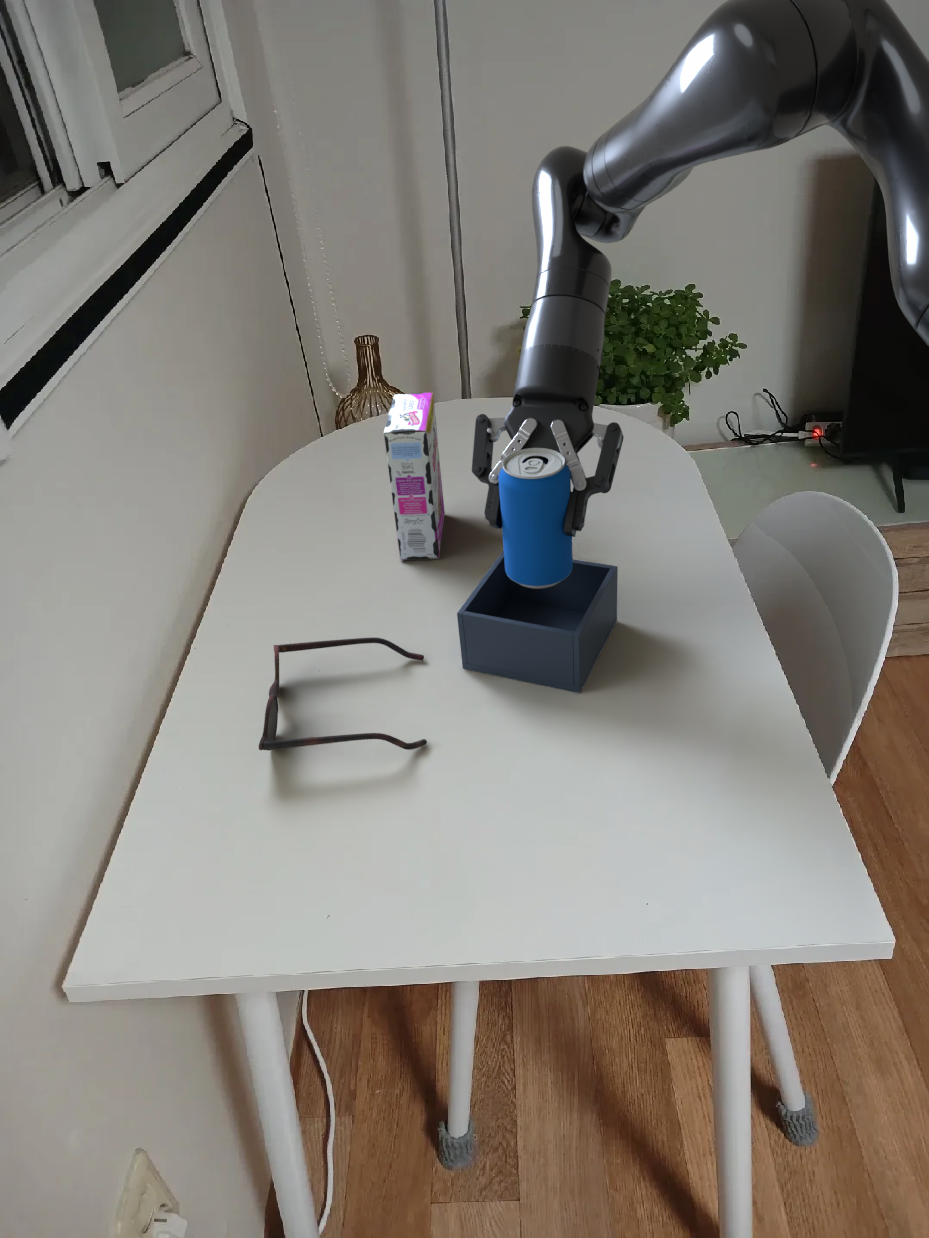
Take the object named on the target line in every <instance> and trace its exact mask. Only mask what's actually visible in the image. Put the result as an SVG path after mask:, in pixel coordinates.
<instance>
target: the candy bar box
mask: <svg viewBox="0 0 929 1238" xmlns="http://www.w3.org/2000/svg"><path fill="white" fill-rule="evenodd" d="M434 395H435V394H434V392H414V393H413V392H411V393H399V394H398V393H397V394H394V395H393V397H392V401H391V405H390V408H389V411H388V412H389V413H388V416H387V418H386V422H385V425H384V430H383V437H384V445H385V453H386V461H387V468H388V475H389V476H388V477H389V483H390V492H391V497H392V498H391V500H392V506H393V507H392V508H393V514H394V515H393V516H394V521H395V531H396V537H397V545H398V553H399V560H400V561H423V560H428V561H429V560H438V559H439V558H440V554H441V544H442V536H443V529H444V522H445V521H444V519H445V513H446V512H445V502H444V493H443V483H442V473H441V462H440V461H441V460H440V452H439V442H438V441H439V440H438V427H437V417H436V409H435V407H436V406H435V397H434Z"/></svg>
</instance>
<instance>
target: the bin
mask: <svg viewBox="0 0 929 1238" xmlns="http://www.w3.org/2000/svg"><path fill="white" fill-rule="evenodd" d="M572 562H573V568H572V571H571V573H570V574H569V576H568V577H566V578H565V579H564V580H562V581H560V582H559V583H558V584H556V585H554V586H551V587H547V588H539V589H536V588H528V587H524V586H522V585H520V584H519V583H516V582H514V581H513V580H511V579H510V578H509V577H508V576H507V574H506V572H505V561H504V549H503V550H502V551H501V553H500V554H499V555H498V557H497V558H496V559H495V561H494V562H493V563H492V565H491V566H490V567H489V568H488V570H487V572H486V573H485V574H484V576H483V577H482V578H481V580H480V581H479V582H478V584H477V585H476V587H474V590H473V591H472V592H471V593H470V595H469V596H468V597H467V598H466V600H465V601H464V603H463V604H462V606H461V607H460V608H459V610H458V611H456V618H457V628H458V637H459V646H460V654H461V655H460V656H461V665H462V669H463V670H466V671H467V670H468V671H473V672H477V673H480V674H486V675H491V676H494V677H495V676H496V677H500V678H505V679H509V680H515V681H519V682H523V683H529V684H533V685H538V686H542V687H547V688H551V689H556V690H561V691H566V692H570V693H574V694H576V693H577V694H581V692H582V690H583V689H584V686H585V685H586V683H587V680H588V679H589V678H590V675H591V673H592V671H593V670H594V667H595V665H596V664H597V662H598V659H599V658H600V655H601V653H602V652H603V649H604V647H605V646H606V644H607V642H608V640H609V638H610V635H611V634H612V632H613V630H614V628H615V626H616V624H617V623H618V577H619V576H618V570H619V567H618V566H617V565H611V564H605V563H599V562H592V561H587V560H581V559H574V558H572Z"/></svg>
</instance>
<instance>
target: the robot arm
mask: <svg viewBox="0 0 929 1238" xmlns="http://www.w3.org/2000/svg"><path fill="white" fill-rule="evenodd" d="M823 126H828V127H830V128H832V129H834V130H835V131H837V132H838V133H839V135H841V136H842V137H843V138H844V139H845V140H846V141H847V142H848V143H849V144H850V145H851V146H852V148H853V149H854V150H855V151H856V152H857V154H858V155H859V157H860V158H861V159H862V160H863V162H864V163H865V165H866V166H867V167H868V168H869V170H870V171H871V173H872V174H873V176H874V177H875V179H876V181H877V183H878V185H879V188H880V192H881V193H882V198H883V202H884V208H885V210H884V211H885V217H886V218H885V219H886V220H885V221H886V236H887V251H888V252H887V253H888V263H889V270H890V279H891V283H892V289H893V292H894V297H895V299H896V301H897V304H898V307H899V308H900V310H901V312H902V314H903V315H904V317H905V319H906V320H907V322H908V323H909V324H910V326H911V327H912V329H914V331H915V332H916V333H917V335H918V336H919V337H920V338H921V339H922V341H923V342H924V343H925V344H926V345H927V346H928V348H929V59H928V57H927V56H926V54H925V53H924V51H923V50H922V48H921V47H920V45H919V44H918V43H917V41H916V40H915V38H914V37H913V36H912V34H911V32H910V31H909V30H908V28H907V27H906V25H905V24H904V23H903V21H902V20H901V18H900V17H899V16H898V14H897V13H896V11H895V10H894V8H892V6H891V5H890V3H889V2H888V1H887V0H726V1H724V2H723V3H721V4H720V5H718V7H717V8H716V9H714V11H712V13H710V15H709V16H708V17H707V18H706V19H705V20H704V21H703V22H702V23H701V25H700V26H699V28H697V30H696V31H695V32H694V34H693V35H692V37H690V39H689V41H688V42H687V43H686V45H685V46H684V47H683V49H682V50H681V52H680V53H679V55H678V56H677V58H676V59H675V60H674V62H673V63H672V65H671V66H670V67H669V69H668V70H667V72H666V73H665V74H664V76H663V77H662V78H661V79H660V80H659V82H658V83H657V85H656V86H655V87H654V88H653V90H652V92H650V93H649V95H648V96H647V97H646V98H645V99H643V101H642V102H640V103H639V104H638V105H637V106H636V107H634V108H633V109H632V110H631V111H630V112H628V113H627V114H625V116H623V117H621V118H620V119H619V120H618V121H617V122H616V123H615V124H613V125H612V126H611V127H610V128H609V129H607V130H606V131H604V133H602V134H601V135H600V136H599V137H598V138H597V139H595V141H594V142H593V144H592V145H591V146H590V148H589V149H588V151H585V150H583V149H580V148H577V147H574V146H570V145H561V146H557V147H555V148H553V149H552V150H550V151H549V152H548V153H547V154H546V155H544V157H543V159H541V161H540V163H539V165H538V167H537V168H536V171H535V174H534V177H533V181H532V188H531V210H532V218H533V227H534V234H535V245H536V247H535V248H536V260H537V267H536V268H537V269H536V271H537V272H536V277H535V283H534V289H533V296H532V301H531V307H530V311H529V314H528V318H527V321H526V324H525V328H524V332H523V336H522V337H523V338H522V343H521V349H520V355H519V361H518V367H517V372H516V380H515V385H514V390H513V395H512V396H513V397H512V404H511V407H510V410H509V411H508V412H507V414H506V415H505V417H488V416H487V414H484V413H480V414H478V415H477V416H476V417H475V424H474V437H473V447H472V449H473V450H472V460H471V473H472V474H473V475H474V476H475V477H476V478H477V479H478V481H479V482H481V483H483V484H486V485H487V486H488V490H487V495H486V500H485V507H484V518H485V519H486V520H487V521H488V524H489V526H490V527H491V528H492V529H494V530H495V529H496V530H502V520H501V506H500V492H499V479H498V477H499V473H500V470H501V469H502V467H503V466H502V464H503V460H504V459H505V458H506V457H507V456H508V455H510V454H511V453H514V452H516V451H519V450H523V449H528V448H546V449H551V450H555V451H557V452H559V453H560V454H562V455H563V456H564V458H565V464H566V465H567V466H568V468H569V470H570V477H571V485H572V486H573V487H572V491H571V492H570V496H569V501H568V506H567V512H566V518H565V525H564V533H565V534H566V535H567V536H571V537H572V538H573V537H574V538H575V537H576V536H577V532H582V530H583V528H584V526H585V521H586V514H587V509H588V502H589V499H590V497H591V496H593V495H596V494H600V493H601V494H608V493H609V492H610V491H611V489H612V485H613V482H614V478H615V474H616V469H617V465H618V462H619V458H620V454H621V450H622V446H623V442H624V437H625V436H624V434H623V430H622V427H621V426H620V424H619V423H618V422H615V421H613V422H610V423H608V424H601V423H597V422H594V419H593V413H594V407H595V399H596V393H597V388H598V381H599V374H600V368H601V365H602V363H603V357H604V352H603V351H604V343H605V342H604V341H605V318H606V314H607V313H606V312H607V308H608V307H607V306H608V302H609V295H610V288H611V282H612V264H611V261H610V260H609V259H608V257H607V256H606V254H604V253H603V252H602V251H601V250H600V249H598V248H597V247H596V246H594V245H593V244H591V243H590V242H589V241H587V240H586V239H589V240H591V241H594V242H598V243H602V244H612V243H618V242H621V241H622V240H624V239H625V238H627V237H628V235H629V234H630V233H631V231H632V230H633V228H634V226H635V224H636V223H637V221H638V219H639V217H640V215H641V214H642V212H643V211H644V209H645V208H646V207H647V206H649V205H650V204H652V203H654V202H656V201H657V200H659V199H661V198H662V197H664V196H665V195H668V194H669V193H671V192H672V191H673V190H675V189H676V188H677V187H678V186H680V185H681V184H682V183H683V182H684V181H685V180H686V179H687V178H688V177H689V175H690V174H691V173H692V171H693V170H694V168H695V167H697V166H700V165H703V164H706V163H710V162H714V161H719V160H722V159H726V158H732V157H736V156H739V155H745V154H749V153H754V152H760V151H763V150H764V151H765V150H769V149H772V148H775V147H777V146H781V145H784V144H786V143H788V142H790V141H791V140H794V139H796V138H798V137H800V136H803V135H805V134H807V133H809V132H812V131H814V130H816V129H818V128H821V127H823ZM585 238H586V239H585ZM505 431H506V432H507V434H508V436H509V438H510V440H511V441H510V443H509V444H508V445H507V446H506V448H505V450H504V451H503V452H502V454H501V456H500V459H499V461H498V462H497V464H496V465H495V466H494V468H493V469H492V467H493V454H494V443H497V441H499V440H500V437H501V434H502V433H503V432H505ZM594 437H595V438H596V444H597V446H598V448H599V449H600V453H599V457H598V460H597V465H596V469H595V472H594V475H592V476H588V477H587V476H586V473H585V470H584V467H583V465H582V462H581V460H580V457H579V454H578V453H579V452H580V451H581V450H582V449H583V448H584V447H585V446H586V445H587V444H588V443H589V442H590V441H591V440H592V439H593V438H594ZM534 458H537V459H541V460H545V461H548V462H549V460H548V459H547V458H546V457H542V456H531V457H528V458H526V460H529V459H534Z"/></svg>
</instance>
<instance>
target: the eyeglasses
mask: <svg viewBox="0 0 929 1238" xmlns="http://www.w3.org/2000/svg"><path fill="white" fill-rule="evenodd" d="M363 644H379V645H383V646H384V647H385V646H386V647H388V648H389V649H391V650H393V651H394V652H396V653H397V654H399V655H401V656H402V657H405V658H408V659H411V660H415V661H423V660H424V659H425V656H424V655H423V654H421V653H414V652H411V651H408V650H406V649H404V648H403V647H400V646H399V645H397V644H395V643H394V642H392V641H390V640H389V639H388V640H387V639H385V638H380V637H358V638H357V637H356V638H344V639H343V638H341V639H331V640H319V641H308V642H306V641H305V642H296V643H285V644H273V652H274V653H273V654H274V681H273V683H272V685H270V687H269V691H268V700H267V703H266V706H265V711H264V712H265V713H264V722H263V731H262V736H261V738H260V740H259V743H258V750H259V751H269V752H270V751H275V750H283V749H291V748H292V749H293V748H300V747H309V746H318V745H327V744H335V743H344V742H353V741H365V740H367V741H368V740H381V741H385V742H388V743H390V744H392V745H395V746H396V747H399V748H401V749H404V750H407V751H411V750H415V749H416V750H417V749H419V748H421V747H424V746H427V744H428V740H427V739H425V738H423V739H419V740H417V741H414V742H413V741H412V742H406V741H403V740H401V739H399V738H397V737H395V736H392V735H389V734H386V733H381V732H364V733H351V734H350V733H349V734H340V735H339V734H338V735H326V736H325V735H323V736H314V737H301V738H291V739H279V740H276V737H277V731H278V721H279V718H278V717H279V700H278V699H279V698H280V695H281V693H280V692H281V688H280V687H281V686H280V653H290V652H291V653H292V652H300V651H307V650H316V649H326V648H335V647H343V646H353V645H363Z"/></svg>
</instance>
